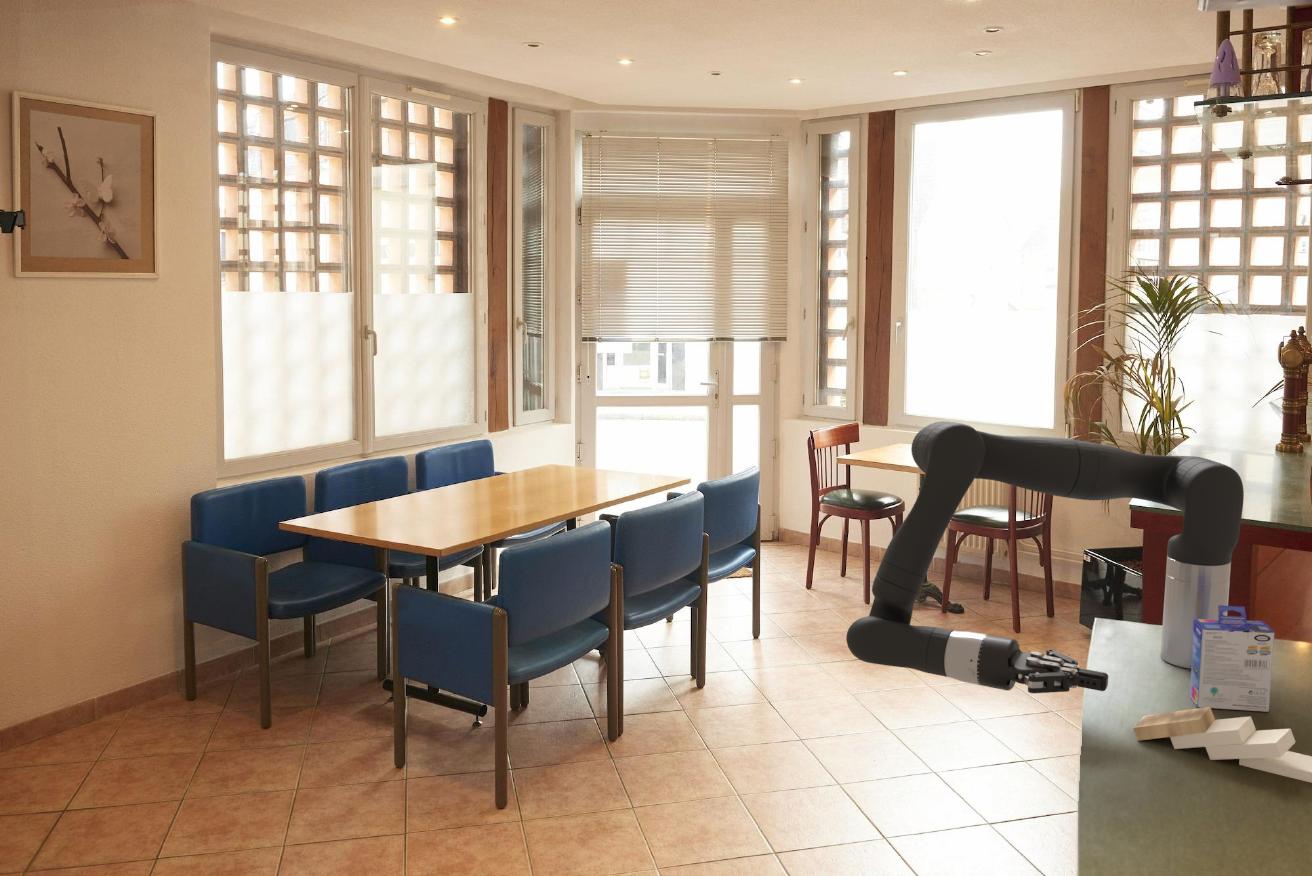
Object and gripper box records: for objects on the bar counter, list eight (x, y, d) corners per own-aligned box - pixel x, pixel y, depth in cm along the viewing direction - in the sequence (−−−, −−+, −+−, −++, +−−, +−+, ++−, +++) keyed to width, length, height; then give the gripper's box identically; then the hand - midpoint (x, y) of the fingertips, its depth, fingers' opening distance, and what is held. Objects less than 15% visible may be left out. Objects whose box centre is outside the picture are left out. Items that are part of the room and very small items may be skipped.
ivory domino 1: (1183, 723, 147) (1250, 716, 141) (1188, 735, 147) (1255, 729, 140) (1169, 736, 144) (1237, 729, 137) (1174, 749, 144) (1242, 743, 137)
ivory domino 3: (1247, 741, 143) (1326, 759, 137) (1246, 753, 143) (1324, 773, 137) (1239, 755, 139) (1320, 774, 133) (1238, 768, 139) (1319, 788, 134)
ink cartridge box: (1258, 698, 160) (1265, 605, 157) (1271, 713, 154) (1279, 617, 152) (1186, 694, 162) (1193, 601, 159) (1197, 709, 156) (1204, 613, 154)
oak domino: (1144, 715, 150) (1210, 706, 144) (1148, 728, 150) (1215, 719, 144) (1132, 728, 146) (1200, 719, 141) (1137, 740, 146) (1205, 732, 140)
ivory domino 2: (1220, 732, 144) (1290, 728, 137) (1225, 745, 144) (1295, 742, 137) (1205, 746, 141) (1275, 743, 134) (1210, 759, 140) (1281, 757, 134)
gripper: (970, 649, 152) (1100, 672, 143) (994, 622, 163) (1116, 642, 154) (968, 699, 153) (1097, 725, 144) (992, 668, 164) (1113, 691, 155)
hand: (1107, 682), depth 149 cm, fingers closed
